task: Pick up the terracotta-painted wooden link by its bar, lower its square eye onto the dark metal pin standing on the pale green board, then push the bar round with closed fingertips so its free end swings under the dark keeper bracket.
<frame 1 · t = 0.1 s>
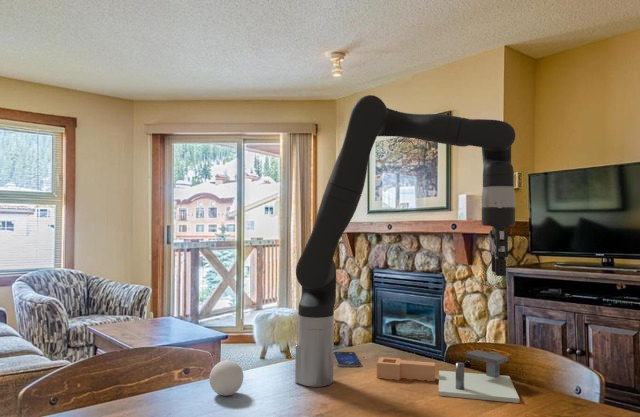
hand: (498, 274, 114), 29 cm above the table, fingers open, 8 cm apart
ball: (226, 395, 113), on the table
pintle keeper: (459, 392, 116), resting on board
board: (475, 387, 120), on the table
smartphone: (346, 361, 144), on the table
link: (435, 379, 126), on the table
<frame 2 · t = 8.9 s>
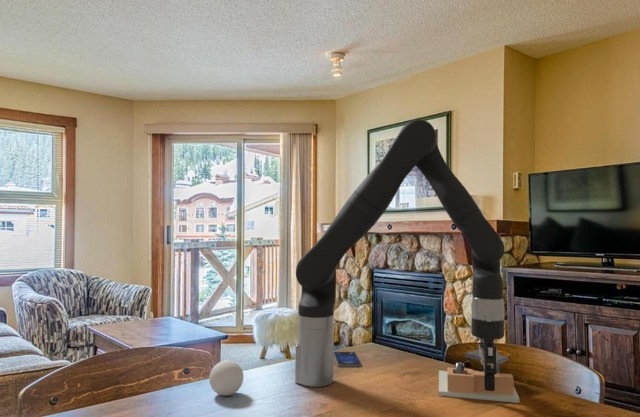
hand: (487, 384, 114), 3 cm above the table, fingers open, 8 cm apart
link: (512, 393, 113), point 1 cm above the table, touching board
everything else where it was.
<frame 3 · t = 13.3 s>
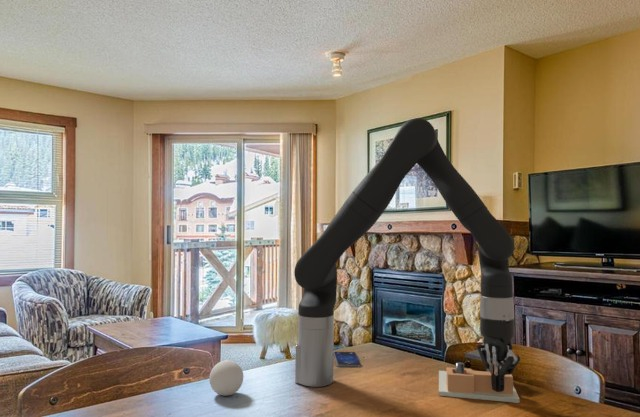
hand: (498, 390, 111), 2 cm above the table, fingers closed
link: (511, 392, 114), point 1 cm above the table, touching board, gripper
everything else where it was.
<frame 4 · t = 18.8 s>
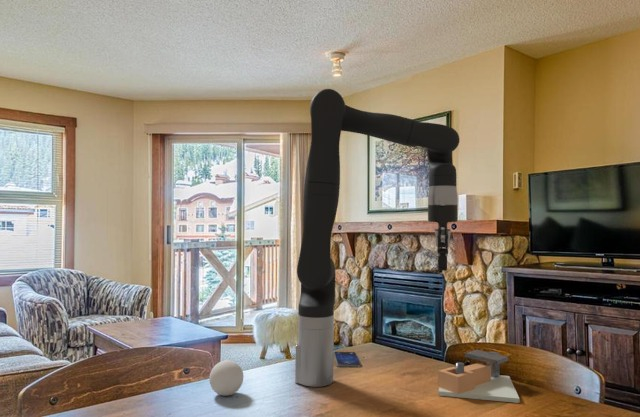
hand: (442, 270, 124), 29 cm above the table, fingers closed
link: (485, 379, 123), point 1 cm above the table, touching board, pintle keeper
everything else where it was.
at the end: link inside the target area on the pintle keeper (0.3 cm from its centre), point 1.0 cm above the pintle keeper's base; link tilted 0°; the gripper is holding nothing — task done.
